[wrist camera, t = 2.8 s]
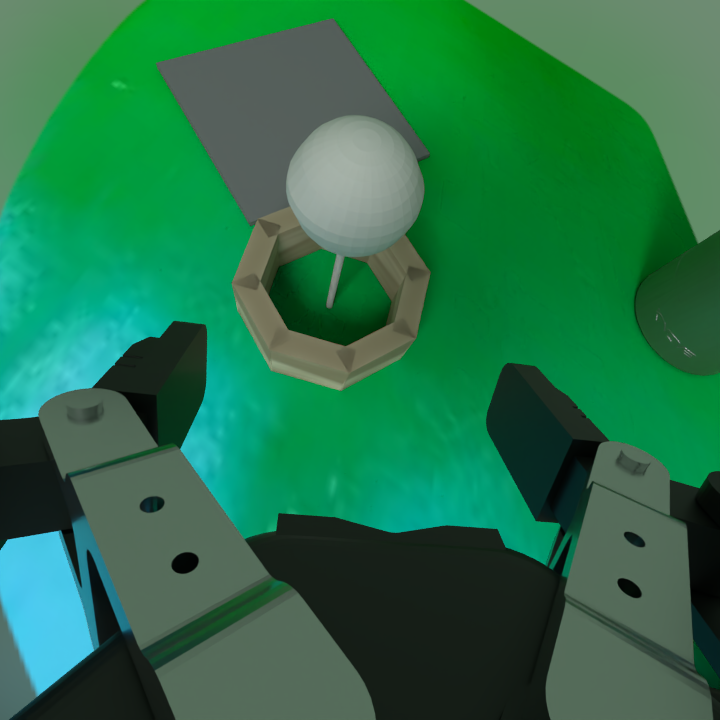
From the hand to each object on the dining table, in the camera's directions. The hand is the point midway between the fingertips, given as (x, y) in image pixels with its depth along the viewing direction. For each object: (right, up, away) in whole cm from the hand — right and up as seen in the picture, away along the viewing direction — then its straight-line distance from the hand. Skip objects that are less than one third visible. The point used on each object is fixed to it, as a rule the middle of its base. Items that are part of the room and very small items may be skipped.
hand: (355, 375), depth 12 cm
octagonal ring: (-2, +4, +19) cm, 20 cm away
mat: (-5, +20, +24) cm, 32 cm away
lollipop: (-2, +4, +20) cm, 20 cm away
